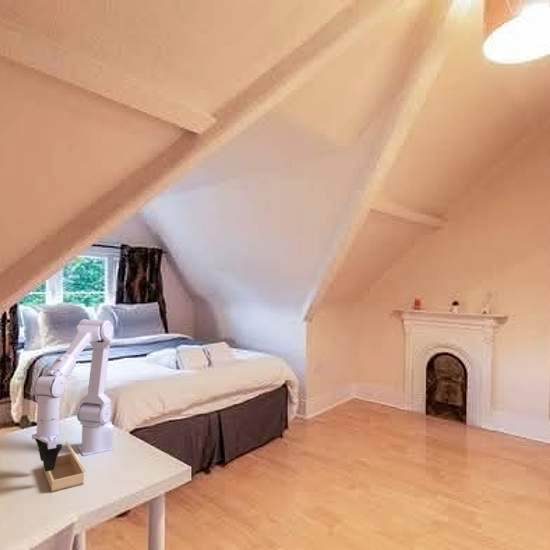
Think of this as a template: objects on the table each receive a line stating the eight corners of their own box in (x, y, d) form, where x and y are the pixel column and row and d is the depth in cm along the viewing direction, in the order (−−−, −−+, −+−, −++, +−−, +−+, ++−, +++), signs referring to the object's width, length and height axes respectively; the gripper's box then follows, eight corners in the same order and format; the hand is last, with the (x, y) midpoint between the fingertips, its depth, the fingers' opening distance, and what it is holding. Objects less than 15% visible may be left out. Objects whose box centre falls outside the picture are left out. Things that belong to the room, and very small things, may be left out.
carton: (71, 462, 132) (72, 453, 132) (83, 484, 119) (83, 473, 119) (42, 469, 127) (43, 459, 127) (51, 492, 114) (52, 481, 114)
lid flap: (73, 453, 131) (74, 451, 132) (84, 472, 119) (86, 471, 119) (65, 442, 130) (67, 441, 130) (76, 460, 118) (78, 459, 118)
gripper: (29, 412, 124) (27, 458, 124) (36, 428, 112) (34, 479, 112) (55, 408, 128) (54, 453, 128) (65, 423, 116) (63, 472, 116)
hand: (47, 465), depth 120 cm, fingers open, 7 cm apart
